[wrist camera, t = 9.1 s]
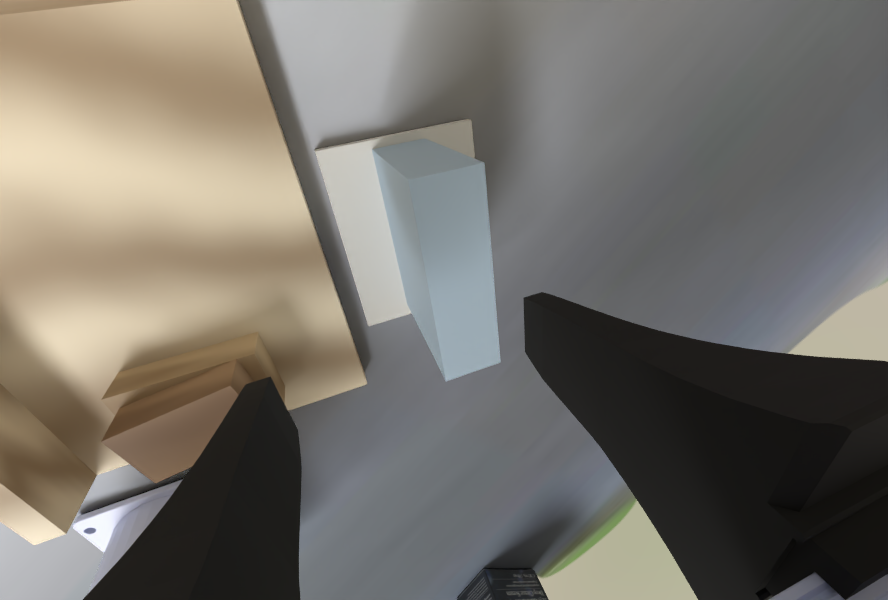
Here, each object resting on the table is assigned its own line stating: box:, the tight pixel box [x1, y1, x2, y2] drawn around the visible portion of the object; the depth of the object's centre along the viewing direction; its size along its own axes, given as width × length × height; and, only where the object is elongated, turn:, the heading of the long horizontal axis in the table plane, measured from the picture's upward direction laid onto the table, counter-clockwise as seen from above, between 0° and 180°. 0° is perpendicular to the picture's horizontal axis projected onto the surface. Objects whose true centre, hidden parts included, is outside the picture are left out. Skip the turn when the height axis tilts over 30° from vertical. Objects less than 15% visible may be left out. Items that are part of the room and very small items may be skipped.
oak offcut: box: [101, 332, 285, 415], centre depth 18 cm, size 4×6×2 cm, turn 98°
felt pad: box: [315, 119, 475, 326], centre depth 19 cm, size 9×7×1 cm
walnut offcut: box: [101, 358, 254, 483], centre depth 16 cm, size 3×5×2 cm, turn 107°
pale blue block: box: [372, 138, 500, 381], centre depth 16 cm, size 8×2×6 cm, turn 8°
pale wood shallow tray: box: [0, 0, 367, 545], centre depth 14 cm, size 19×15×5 cm
